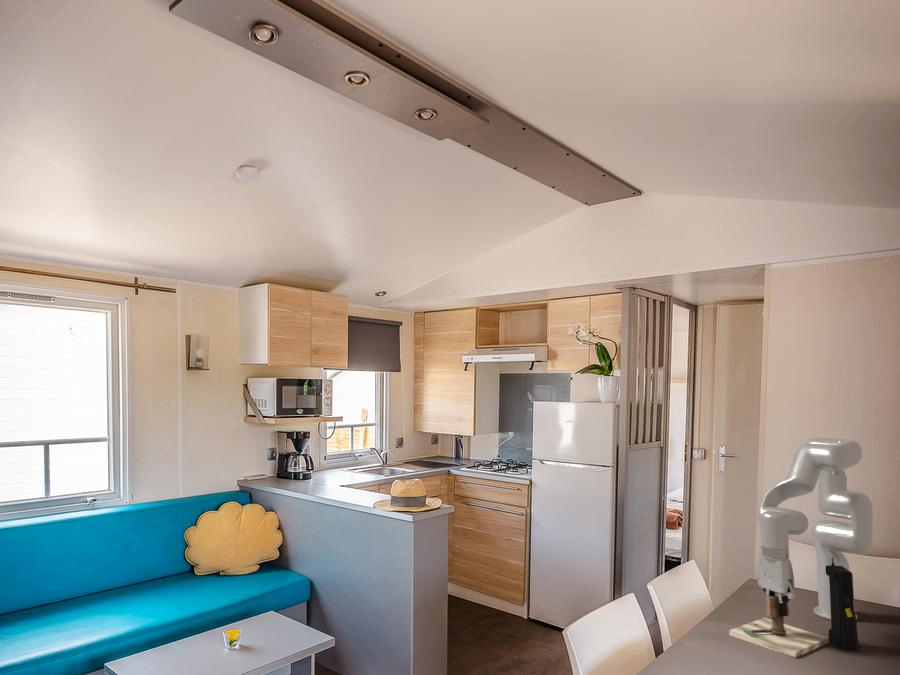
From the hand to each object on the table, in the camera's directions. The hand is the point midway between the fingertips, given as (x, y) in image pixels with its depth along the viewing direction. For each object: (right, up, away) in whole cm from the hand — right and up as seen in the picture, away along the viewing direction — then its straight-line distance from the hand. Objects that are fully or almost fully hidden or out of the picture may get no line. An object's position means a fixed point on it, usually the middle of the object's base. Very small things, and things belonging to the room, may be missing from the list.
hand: (777, 613), depth 190 cm
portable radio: (+17, -7, -6) cm, 19 cm away
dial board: (0, -8, -1) cm, 8 cm away
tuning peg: (-3, -6, -1) cm, 6 cm away
